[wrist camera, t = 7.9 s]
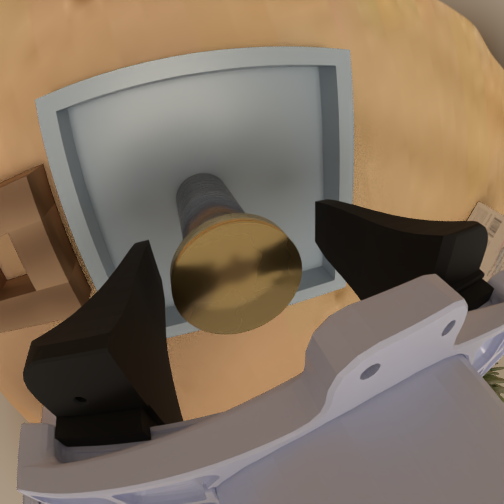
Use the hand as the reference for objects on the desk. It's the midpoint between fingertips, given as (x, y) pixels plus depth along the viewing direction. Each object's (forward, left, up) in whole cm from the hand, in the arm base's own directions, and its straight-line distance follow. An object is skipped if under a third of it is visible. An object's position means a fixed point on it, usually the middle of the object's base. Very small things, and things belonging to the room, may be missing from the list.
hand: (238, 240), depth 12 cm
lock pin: (0, +1, -5) cm, 5 cm away
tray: (0, 0, -6) cm, 6 cm away
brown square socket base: (0, +14, -6) cm, 15 cm away
